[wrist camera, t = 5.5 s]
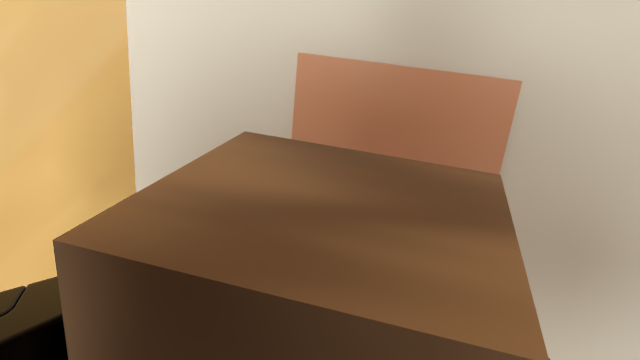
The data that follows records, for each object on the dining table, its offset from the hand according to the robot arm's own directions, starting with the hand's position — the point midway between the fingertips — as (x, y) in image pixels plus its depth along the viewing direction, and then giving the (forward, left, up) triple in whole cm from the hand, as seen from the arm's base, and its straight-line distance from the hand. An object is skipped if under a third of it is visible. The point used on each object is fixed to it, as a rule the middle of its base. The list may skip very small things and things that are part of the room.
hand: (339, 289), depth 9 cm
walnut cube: (0, 0, -1) cm, 1 cm away
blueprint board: (0, 0, -8) cm, 8 cm away
